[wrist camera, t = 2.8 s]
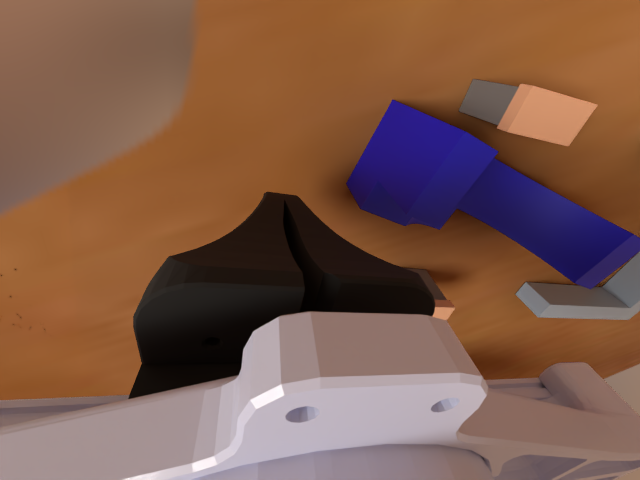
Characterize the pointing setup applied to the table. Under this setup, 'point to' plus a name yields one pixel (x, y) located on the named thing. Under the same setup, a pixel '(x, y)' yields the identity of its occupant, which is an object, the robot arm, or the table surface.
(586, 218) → the blue stepped bar
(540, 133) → the posts
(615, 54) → the table surface
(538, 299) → the grey bent bracket
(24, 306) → the table surface
